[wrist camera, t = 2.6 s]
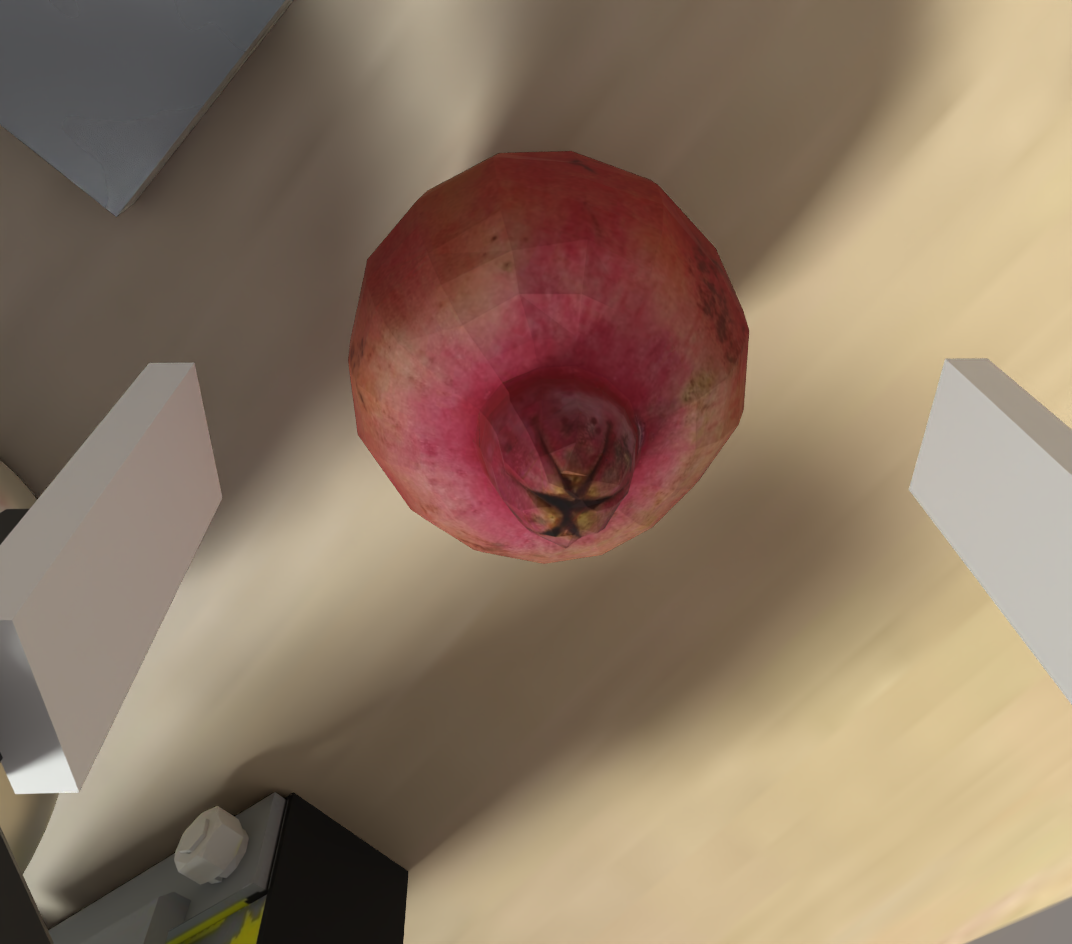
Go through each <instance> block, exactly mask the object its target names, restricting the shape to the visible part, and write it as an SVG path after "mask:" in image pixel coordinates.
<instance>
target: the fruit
mask: <svg viewBox="0 0 1072 944" xmlns="http://www.w3.org/2000/svg"><path fill="white" fill-rule="evenodd" d="M748 341H749V328H748V325H747V322H746V318H745V315H744V312H743V309H742V307H741V305H740V302H739V300H738V298H737V295H736V293H735V291H734V289H733V286H732V284H731V282H730V280H729V277H728V275H727V273H726V271H725V268H724V266H723V264H722V262H721V259H720V257H719V255H718V253H717V250H716V248H715V247H714V246H713V245H712V244H711V243H710V242H709V241H708V239H707V238H706V237H705V236H704V235H703V234H702V233H701V232H700V231H699V230H698V228H697V227H696V226H695V225H694V224H693V223H692V222H691V221H690V220H689V219H688V217H687V216H686V215H685V214H684V213H683V212H682V211H681V210H680V209H679V207H678V206H677V205H676V204H675V203H674V202H673V201H672V200H671V199H670V198H669V196H668V195H667V194H666V193H665V192H664V191H663V190H662V189H661V188H660V187H659V185H658V184H656V183H654V182H653V181H651V180H649V179H647V178H644V177H641V176H638V175H636V174H633V173H630V172H627V171H625V170H622V169H619V168H616V167H614V166H611V165H608V164H606V163H603V162H600V161H597V160H595V159H592V158H589V157H586V156H584V155H581V154H578V153H575V152H573V151H557V152H518V153H498V154H496V155H494V156H492V157H490V158H488V159H487V160H485V161H483V162H481V163H479V164H477V165H475V166H473V167H471V168H470V169H468V170H466V171H464V172H462V173H460V174H458V175H456V176H454V177H452V178H451V179H449V180H447V181H445V182H443V183H441V184H439V185H437V186H435V187H434V188H432V189H430V190H428V191H427V192H426V193H424V194H423V195H422V196H421V197H420V198H419V199H418V200H417V201H416V202H415V204H414V205H413V206H412V207H411V208H410V210H409V211H408V212H407V213H406V214H405V215H404V217H403V218H402V219H401V220H400V221H399V223H398V224H397V225H396V226H395V227H394V229H393V230H392V231H391V232H390V233H389V234H388V236H387V237H386V238H385V239H384V240H383V242H382V243H381V244H380V245H379V246H378V247H377V249H376V250H375V251H374V252H373V253H372V255H371V256H370V257H369V258H368V259H367V263H366V268H365V273H364V278H363V282H362V287H361V292H360V297H359V302H358V306H357V311H356V316H355V321H354V326H353V330H352V335H351V340H350V348H349V357H348V363H349V371H350V378H351V386H352V393H353V401H354V409H355V416H356V424H357V432H358V435H359V437H360V438H361V440H362V441H363V443H364V444H365V445H366V447H367V448H368V450H369V451H370V452H371V454H372V455H373V457H374V458H375V459H376V461H377V462H378V464H379V465H380V467H381V468H382V469H383V471H384V472H385V474H386V475H387V476H388V478H389V479H390V481H391V482H392V483H393V485H394V486H395V488H396V489H397V491H398V492H399V493H400V495H401V496H402V498H403V499H404V500H405V502H406V503H407V505H408V506H409V508H410V509H411V510H412V511H414V512H415V513H417V514H418V515H420V516H421V517H423V518H424V519H426V520H428V521H429V522H431V523H432V524H434V525H435V526H437V527H439V528H440V529H442V530H443V531H445V532H447V533H448V534H450V535H451V536H453V537H455V538H456V539H458V540H459V541H461V542H463V543H464V544H466V545H467V546H469V547H470V548H472V549H474V550H477V551H481V552H485V553H490V554H496V555H501V556H506V557H511V558H517V559H522V560H527V561H533V562H538V563H543V564H545V563H551V562H558V561H565V560H571V559H578V558H584V557H591V556H597V555H602V554H604V553H606V552H608V551H610V550H611V549H613V548H615V547H617V546H619V545H621V544H622V543H624V542H626V541H628V540H630V539H632V538H634V537H635V536H637V535H639V534H641V533H643V532H645V531H646V530H648V529H650V528H652V527H653V526H654V525H655V524H656V523H657V522H658V521H659V520H660V519H661V518H662V517H663V516H664V515H665V514H666V513H667V512H668V511H669V510H670V509H671V508H672V507H673V506H674V505H675V504H676V503H677V502H678V501H679V500H680V499H681V498H682V497H683V496H684V495H685V494H686V493H687V492H688V491H689V490H690V489H691V488H692V487H693V486H694V485H695V484H696V483H697V482H698V481H699V480H700V478H701V477H702V475H703V474H704V472H705V471H706V470H707V468H708V467H709V465H710V464H711V463H712V461H713V460H714V458H715V457H716V456H717V454H718V453H719V451H720V450H721V448H722V447H723V446H724V444H725V443H726V441H727V440H728V439H729V437H730V436H731V434H732V433H733V432H734V430H735V429H736V427H737V426H738V424H739V422H740V419H741V416H742V413H743V409H744V396H745V382H746V369H747V355H748Z"/></svg>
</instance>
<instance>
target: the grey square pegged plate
mask: <svg viewBox="0 0 1072 944" xmlns="http://www.w3.org/2000/svg"><path fill="white" fill-rule="evenodd" d="M292 2H293V0H0V125H1V126H3V127H4V128H5V129H6V130H8V131H9V132H10V133H11V134H13V135H14V136H15V137H16V138H18V139H19V140H20V141H21V142H23V143H24V144H25V145H26V146H28V147H29V148H30V149H32V150H33V151H34V152H35V153H37V154H38V155H39V156H40V157H42V158H43V159H44V160H45V161H47V162H48V163H49V164H50V165H52V166H53V167H54V168H55V169H57V170H58V171H59V172H60V173H62V174H63V175H64V176H65V177H67V178H68V179H69V180H71V181H72V182H73V183H74V184H76V185H77V186H78V187H79V188H81V189H82V190H83V191H84V192H86V193H87V194H88V195H89V196H91V197H92V198H93V199H94V200H96V201H97V202H98V203H99V204H101V205H102V206H103V207H105V208H106V209H107V210H108V211H110V212H111V213H112V214H113V215H115V216H116V217H117V216H118V215H119V214H121V213H122V212H123V211H125V210H126V209H127V208H129V207H130V206H131V205H132V204H134V203H135V202H136V200H137V199H138V198H139V197H140V195H141V194H142V193H143V192H144V190H145V189H146V188H147V186H148V185H149V184H150V183H151V181H152V180H153V179H154V178H155V176H156V175H157V174H158V172H159V171H160V170H161V169H162V167H163V166H164V165H165V164H166V162H167V161H168V160H169V158H170V157H171V156H172V155H173V153H174V152H175V151H176V150H177V148H178V147H179V146H180V144H181V143H182V142H183V141H184V139H185V138H186V137H187V135H188V134H189V133H190V132H191V130H192V129H193V128H194V127H195V125H196V124H197V123H198V121H199V120H200V119H201V118H202V116H203V115H204V114H205V113H206V111H207V110H208V109H209V107H210V106H211V105H212V104H213V102H214V101H215V100H216V99H217V97H218V96H219V95H220V93H221V92H222V91H223V90H224V88H225V87H226V86H227V85H228V83H229V82H230V81H231V79H232V78H233V77H234V76H235V74H236V73H237V72H238V71H239V69H240V68H241V67H242V65H243V64H244V63H245V62H246V60H247V59H248V58H249V56H250V55H251V54H252V53H253V51H254V50H255V49H256V48H257V46H258V45H259V44H260V42H261V41H262V40H263V39H264V37H265V36H266V35H267V34H268V32H269V31H270V30H271V28H272V27H273V26H274V25H275V23H276V22H277V21H278V20H279V18H280V17H281V16H282V14H283V13H284V12H285V11H286V9H287V8H288V7H289V6H290V4H291V3H292Z"/></svg>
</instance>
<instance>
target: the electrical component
mask: <svg viewBox="0 0 1072 944" xmlns="http://www.w3.org/2000/svg"><path fill="white" fill-rule="evenodd" d="M407 884H408V871H407V870H405V869H404V868H402V867H401V866H399V865H398V864H397V863H395V862H394V861H392V860H391V859H389V858H388V857H386V856H385V855H383V854H382V853H381V852H379V851H378V850H376V849H375V848H373V847H372V846H370V845H369V844H367V843H366V842H365V841H363V840H362V839H360V838H359V837H357V836H356V835H354V834H353V833H351V832H350V831H349V830H347V829H346V828H344V827H343V826H341V825H340V824H338V823H337V822H336V821H334V820H333V819H331V818H330V817H328V816H327V815H325V814H324V813H322V812H321V811H320V810H318V809H317V808H315V807H314V806H312V805H311V804H309V803H308V802H306V801H305V800H304V799H302V798H301V797H299V796H298V795H296V794H295V793H292V794H291V795H289V796H287V797H286V798H283V797H281V796H280V795H278V794H277V793H276V792H274V793H273V794H271V795H269V796H268V797H266V798H264V799H263V800H261V801H259V802H258V803H256V804H255V805H253V806H251V807H250V808H248V809H246V810H245V811H243V812H241V813H240V814H238V815H237V816H235V817H234V816H233V815H231V814H230V813H228V812H227V811H225V810H223V809H222V808H220V807H219V806H216V807H214V808H211V809H209V810H207V811H204V812H202V813H201V814H200V815H199V816H198V817H197V818H196V819H195V820H194V821H193V823H192V824H191V825H190V826H189V827H188V828H187V829H186V830H185V832H184V833H183V835H182V837H181V840H180V842H179V844H178V847H177V849H176V851H175V853H174V854H173V855H171V856H169V857H168V858H166V859H164V860H163V861H161V862H160V863H158V864H156V865H155V866H153V867H151V868H150V869H148V870H146V871H145V872H143V873H141V874H140V875H138V876H137V877H135V878H133V879H132V880H130V881H128V882H127V883H125V884H123V885H122V886H120V887H119V888H117V889H115V890H114V891H112V892H110V893H109V894H107V895H105V896H104V897H102V898H101V899H99V900H97V901H96V902H94V903H92V904H91V905H89V906H87V907H86V908H84V909H82V910H81V911H79V912H78V913H76V914H74V915H73V916H71V917H69V918H68V919H66V920H64V921H63V922H61V923H60V924H58V925H56V926H55V927H53V928H51V929H50V930H48V932H49V934H50V936H51V938H52V940H53V942H54V944H403V938H404V924H405V911H406V897H407Z"/></svg>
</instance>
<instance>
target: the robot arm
mask: <svg viewBox="0 0 1072 944" xmlns="http://www.w3.org/2000/svg"><path fill="white" fill-rule="evenodd" d="M909 491H910V492H911V493H912V495H913V496H914V497H915V499H916V500H917V501H918V502H919V504H920V505H921V506H922V508H923V509H924V510H925V512H926V513H927V514H928V516H929V517H930V518H931V520H932V521H933V522H934V524H935V525H936V526H937V528H938V529H939V530H940V532H941V533H942V534H943V535H944V537H945V538H946V539H947V541H948V542H949V543H950V545H951V546H952V547H953V549H954V550H955V551H956V553H957V554H958V555H959V557H960V558H961V559H962V561H963V562H964V563H965V564H966V566H967V567H968V568H969V570H970V571H971V572H972V574H973V575H974V576H975V578H976V579H977V580H978V582H979V583H980V584H981V586H982V587H983V588H984V590H985V591H986V592H987V594H988V595H989V596H990V597H991V599H992V600H993V601H994V603H995V604H996V605H997V607H998V608H999V609H1000V611H1001V612H1002V613H1003V615H1004V616H1005V617H1006V619H1007V620H1008V621H1009V623H1010V624H1011V625H1012V627H1013V628H1014V629H1015V630H1016V632H1017V633H1018V634H1019V636H1020V637H1021V638H1022V640H1023V641H1024V642H1025V644H1026V645H1027V646H1028V648H1029V649H1030V650H1031V652H1032V653H1033V654H1034V656H1035V657H1036V658H1037V659H1038V661H1039V662H1040V663H1041V665H1042V666H1043V667H1044V669H1045V670H1046V671H1047V673H1048V674H1049V675H1050V677H1051V678H1052V679H1053V681H1054V682H1055V683H1056V685H1057V686H1058V687H1059V689H1060V690H1061V691H1062V692H1063V694H1064V695H1065V696H1066V698H1067V699H1068V700H1069V702H1070V703H1071V704H1072V429H1070V428H1069V427H1068V426H1067V425H1066V424H1064V423H1063V422H1062V421H1061V420H1060V419H1059V418H1057V417H1056V416H1055V415H1054V414H1053V413H1051V412H1050V411H1049V410H1048V409H1047V408H1046V407H1044V406H1043V405H1042V404H1041V403H1040V402H1038V401H1037V400H1036V399H1035V398H1034V397H1033V396H1031V395H1030V394H1029V393H1028V392H1027V391H1025V390H1024V389H1023V388H1022V387H1021V386H1019V385H1018V384H1017V383H1016V382H1015V381H1014V380H1012V379H1011V378H1010V377H1009V376H1008V375H1006V374H1005V373H1004V372H1003V371H1002V370H1001V369H999V368H998V367H997V366H996V365H995V364H993V363H992V362H991V361H990V360H989V359H987V358H980V359H945V362H944V365H943V369H942V372H941V376H940V380H939V383H938V387H937V390H936V394H935V397H934V401H933V405H932V408H931V412H930V415H929V419H928V423H927V426H926V430H925V433H924V437H923V441H922V444H921V448H920V451H919V455H918V459H917V462H916V466H915V469H914V473H913V477H912V480H911V484H910V487H909ZM221 500H222V493H221V488H220V483H219V478H218V473H217V469H216V464H215V459H214V454H213V449H212V444H211V440H210V435H209V430H208V425H207V420H206V415H205V411H204V406H203V401H202V396H201V391H200V386H199V382H198V377H197V372H196V367H195V363H149V364H148V365H147V366H146V367H145V368H144V370H143V371H142V372H141V373H140V375H139V376H138V377H137V378H136V379H135V381H134V382H133V383H132V384H131V386H130V387H129V388H128V389H127V390H126V392H125V393H124V394H123V395H122V397H121V398H120V399H119V400H118V401H117V403H116V404H115V405H114V406H113V408H112V409H111V410H110V411H109V413H108V414H107V415H106V416H105V417H104V419H103V420H102V421H101V422H100V424H99V425H98V426H97V427H96V428H95V430H94V431H93V432H92V433H91V435H90V436H89V437H88V438H87V439H86V441H85V442H84V443H83V444H82V446H81V447H80V448H79V449H78V450H77V452H76V453H75V454H74V455H73V457H72V458H71V459H70V460H69V461H68V463H67V464H66V465H65V466H64V468H63V469H62V470H61V471H60V473H59V474H58V475H57V476H56V477H55V479H54V480H53V481H52V482H51V484H50V485H49V486H48V487H47V488H46V490H45V491H44V492H43V493H42V495H41V496H40V497H39V498H38V499H37V501H36V502H35V503H34V504H33V506H32V507H31V508H30V509H6V510H4V511H2V512H1V513H0V762H1V763H2V766H3V768H4V770H5V772H6V775H7V777H8V779H9V781H10V783H11V786H12V788H13V790H14V792H15V794H37V793H76V792H80V790H81V788H82V786H83V784H84V782H85V779H86V777H87V775H88V773H89V771H90V769H91V767H92V765H93V763H94V761H95V759H96V757H97V755H98V753H99V751H100V749H101V747H102V745H103V742H104V740H105V738H106V736H107V734H108V732H109V730H110V728H111V726H112V724H113V722H114V720H115V718H116V716H117V714H118V712H119V710H120V708H121V705H122V703H123V701H124V699H125V697H126V695H127V693H128V691H129V689H130V687H131V685H132V683H133V681H134V679H135V677H136V675H137V673H138V671H139V668H140V666H141V664H142V662H143V660H144V658H145V656H146V654H147V652H148V650H149V648H150V646H151V644H152V642H153V640H154V638H155V636H156V634H157V631H158V629H159V627H160V625H161V623H162V621H163V619H164V617H165V615H166V613H167V611H168V609H169V607H170V605H171V603H172V601H173V599H174V597H175V594H176V592H177V590H178V588H179V586H180V584H181V582H182V580H183V578H184V576H185V574H186V572H187V570H188V568H189V566H190V564H191V562H192V560H193V557H194V555H195V553H196V551H197V549H198V547H199V545H200V543H201V541H202V539H203V537H204V535H205V533H206V531H207V529H208V527H209V525H210V523H211V520H212V518H213V516H214V514H215V512H216V510H217V508H218V506H219V504H220V502H221ZM0 944H54V942H53V940H52V938H51V936H50V934H49V932H48V929H47V927H46V925H45V923H44V921H43V918H42V916H41V914H40V912H39V910H38V908H37V905H36V903H35V901H34V899H33V897H32V894H31V892H30V890H29V888H28V886H27V884H26V881H25V879H24V877H23V875H22V873H21V870H20V868H19V866H18V864H17V862H16V860H15V857H14V855H13V853H12V851H11V849H10V846H9V844H8V842H7V840H6V838H5V836H4V833H3V831H2V829H1V827H0Z"/></svg>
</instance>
